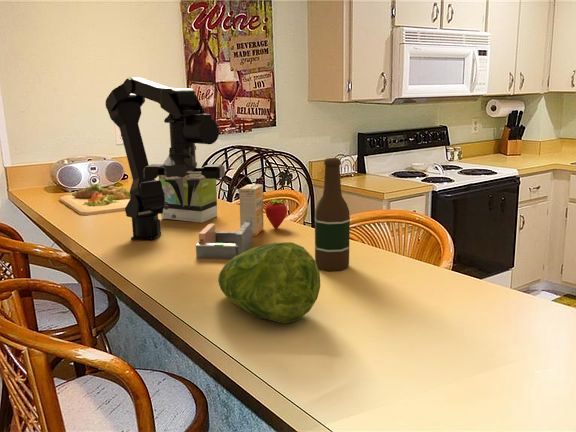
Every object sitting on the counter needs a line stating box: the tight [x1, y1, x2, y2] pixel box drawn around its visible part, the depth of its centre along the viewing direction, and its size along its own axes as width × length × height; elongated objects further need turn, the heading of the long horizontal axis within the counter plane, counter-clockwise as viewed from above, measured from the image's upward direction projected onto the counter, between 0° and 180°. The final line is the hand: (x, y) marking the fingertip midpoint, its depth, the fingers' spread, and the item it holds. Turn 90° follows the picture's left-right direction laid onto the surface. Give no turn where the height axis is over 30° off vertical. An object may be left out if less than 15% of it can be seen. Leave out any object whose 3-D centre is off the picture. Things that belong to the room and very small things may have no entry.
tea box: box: [158, 175, 218, 224], centre depth 170 cm, size 15×10×15 cm
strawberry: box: [264, 193, 288, 229], centre depth 156 cm, size 6×8×10 cm
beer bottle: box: [314, 157, 351, 272], centre depth 119 cm, size 8×8×24 cm
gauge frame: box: [195, 221, 254, 260], centre depth 135 cm, size 11×14×6 cm
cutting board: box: [59, 183, 131, 216], centre depth 196 cm, size 35×23×8 cm
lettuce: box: [217, 241, 321, 324], centre depth 97 cm, size 14×23×13 cm, turn 38°
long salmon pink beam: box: [197, 223, 216, 244], centre depth 134 cm, size 2×12×5 cm, turn 173°
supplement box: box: [238, 183, 264, 237], centre depth 151 cm, size 8×5×13 cm, turn 168°
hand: (186, 206), depth 134 cm, fingers closed
